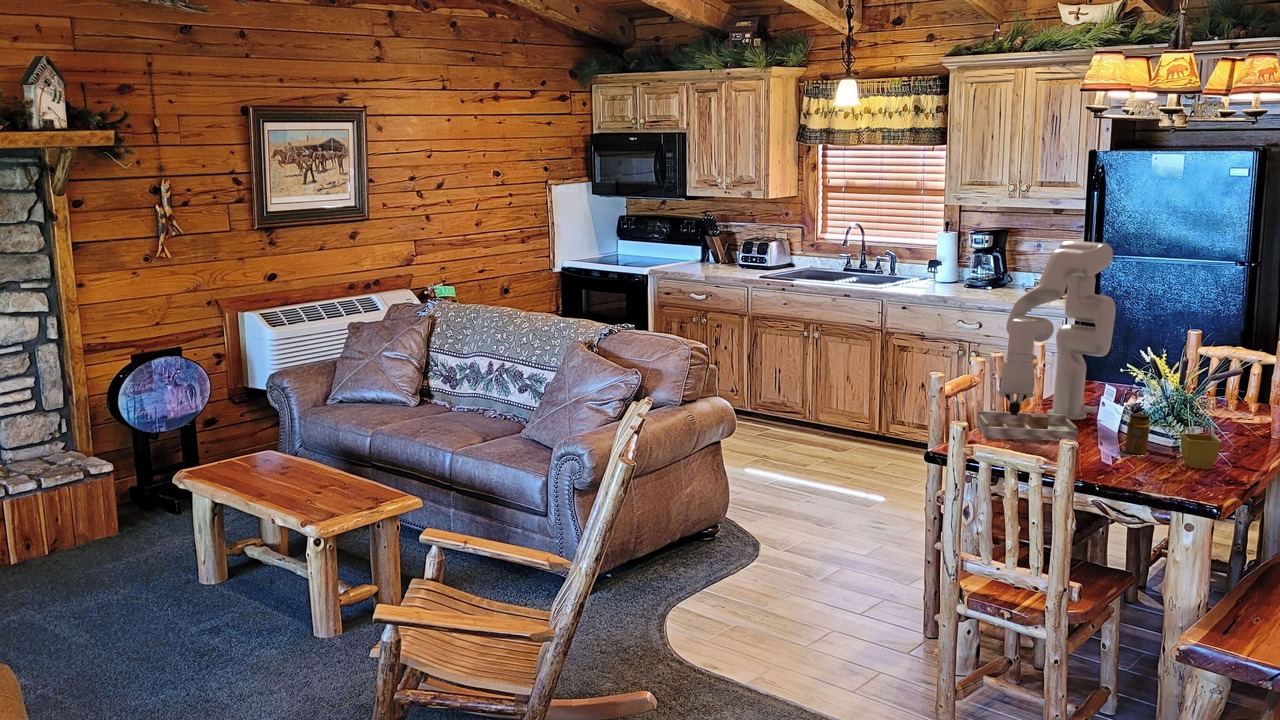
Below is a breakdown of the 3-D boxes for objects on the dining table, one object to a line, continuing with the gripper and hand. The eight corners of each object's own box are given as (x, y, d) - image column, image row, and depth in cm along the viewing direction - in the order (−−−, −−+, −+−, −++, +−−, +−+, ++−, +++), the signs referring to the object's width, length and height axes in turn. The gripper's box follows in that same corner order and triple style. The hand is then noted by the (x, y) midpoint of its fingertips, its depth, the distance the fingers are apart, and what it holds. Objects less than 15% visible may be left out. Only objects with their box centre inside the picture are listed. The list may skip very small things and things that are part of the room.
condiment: (1151, 453, 340) (1156, 415, 338) (1140, 458, 334) (1144, 419, 332) (1127, 448, 345) (1131, 410, 343) (1115, 453, 339) (1119, 414, 337)
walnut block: (1043, 425, 360) (1045, 413, 360) (1047, 429, 355) (1048, 417, 355) (1027, 425, 361) (1028, 413, 360) (1031, 429, 356) (1032, 416, 355)
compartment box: (1065, 431, 364) (1066, 414, 363) (1076, 442, 351) (1078, 425, 350) (976, 427, 367) (978, 410, 366) (985, 437, 354) (986, 421, 352)
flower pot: (1176, 462, 331) (1180, 432, 330) (1208, 464, 330) (1212, 434, 328) (1185, 470, 323) (1189, 440, 321) (1218, 472, 321) (1222, 442, 320)
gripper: (1040, 357, 357) (1035, 413, 361) (992, 354, 359) (987, 410, 362) (1046, 361, 350) (1040, 418, 353) (997, 358, 352) (991, 415, 355)
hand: (1013, 414), depth 358 cm, fingers closed
